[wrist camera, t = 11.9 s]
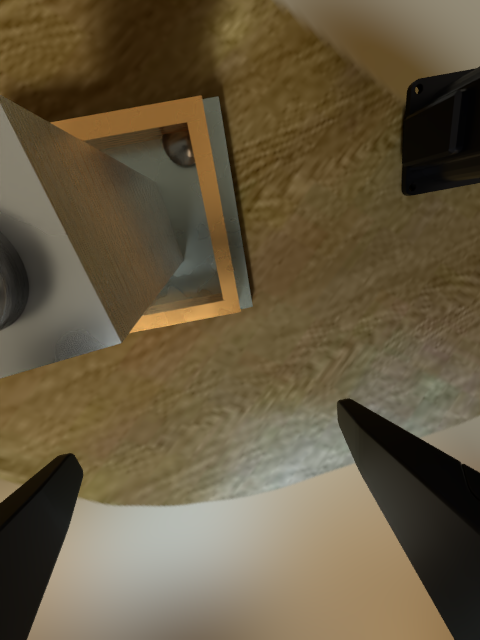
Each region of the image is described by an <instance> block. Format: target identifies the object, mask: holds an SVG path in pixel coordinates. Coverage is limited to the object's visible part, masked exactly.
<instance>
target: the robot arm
mask: <svg viewBox="0 0 480 640" xmlns="http://www.w3.org/2000/svg"><path fill="white" fill-rule="evenodd" d="M415 87H417V88H418V90H419V91H418V94H416V92H415ZM402 164H403V174H402V193H403V194H404V195H405V196H410V195H416V194H422V193H427V192H433V191H438V190H443V189H449V188H454V187H460V186H465V185H470V184H476V183H480V67H478V68H476V69H471V70H466V71H460V72H454V73H449V74H443V75H437V76H432V77H427V78H421V79H418V80H416V81H415V82H413V83H412V84H411V85H410V86H409V88H408V90H407V98H406V117H405V121H404V134H403V154H402ZM410 185H412V190H411V191H410V190H409V186H410ZM337 414H338V423H339V426H340V429H341V431H342V433H343V435H344V438H345V440H346V442H347V445H348V447H349V449H350V451H351V454H352V456H353V458H354V461H355V463H356V465H357V467H358V469H359V471H360V473H361V475H362V477H363V479H364V480H365V482H366V484H367V486H368V488H369V489H370V491H371V493H372V495H373V497H374V498H375V500H376V502H377V504H378V505H379V507H380V509H381V511H382V512H383V514H384V516H385V518H386V520H387V521H388V523H389V525H390V526H391V528H392V530H393V532H394V534H395V535H396V537H397V539H398V541H399V543H400V544H401V546H402V548H403V550H404V551H405V553H406V555H407V557H408V558H409V560H410V562H411V564H412V566H413V567H414V569H415V571H416V573H417V574H418V576H419V578H420V580H421V581H422V583H423V585H424V586H425V588H426V590H427V592H428V594H429V596H430V597H431V599H432V601H433V603H434V604H435V606H436V608H437V609H438V611H439V613H440V615H441V617H442V618H443V620H444V622H445V624H446V626H447V627H448V629H449V631H450V632H451V634H452V636H453V637H454V640H480V473H479V472H478V471H476V470H474V469H472V468H470V467H469V466H467V465H465V464H461V462H460V461H458V460H456V459H455V458H453V457H451V456H449V455H448V454H446V453H444V452H442V451H441V450H439V449H437V448H435V447H434V446H432V445H430V444H429V443H426V442H425V441H423V440H422V439H420V438H418V437H416V436H415V435H413V434H411V433H409V432H408V431H406V430H404V429H402V428H401V427H399V426H397V425H395V424H394V423H392V422H390V421H388V420H387V419H385V418H383V417H381V416H380V415H378V414H376V413H374V412H373V411H371V410H369V409H368V408H366V407H364V406H362V405H361V404H359V403H357V402H355V401H354V400H352V399H343V400H339V401H338V402H337ZM82 479H83V470H82V468H81V466H80V464H79V462H78V460H77V459H76V457H75V455H74V454H72V453H68V454H63V455H59V456H57V457H56V458H55V459H54V460H52V461H51V462H50V463H49V464H48V465H46V466H45V467H44V468H43V469H41V470H40V471H39V472H38V473H37V474H35V475H34V476H33V477H32V478H30V479H29V480H28V481H27V482H26V483H24V484H23V485H22V486H21V487H20V488H18V489H17V490H16V491H15V492H14V493H12V494H11V495H10V496H9V497H7V498H6V499H5V500H4V501H3V502H1V503H0V640H27V638H28V635H29V632H30V630H31V627H32V624H33V622H34V619H35V616H36V614H37V611H38V608H39V606H40V603H41V600H42V598H43V595H44V592H45V590H46V587H47V585H48V582H49V579H50V577H51V574H52V571H53V568H54V566H55V563H56V561H57V558H58V555H59V553H60V550H61V547H62V545H63V542H64V539H65V536H66V534H67V531H68V528H69V524H70V521H71V518H72V514H73V511H74V507H75V504H76V500H77V497H78V493H79V490H80V486H81V482H82Z"/></svg>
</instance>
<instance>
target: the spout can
mask: <svg viewBox="0 0 480 640" xmlns="http://www.w3.org/2000/svg"><path fill="white" fill-rule="evenodd" d="M183 261H184V258H183V256H182V253H181V250H180V247H179V244H178V242H177V239H176V236H175V233H174V230H173V228H172V225H171V222H170V219H169V216H168V214H167V211H166V208H165V205H164V202H163V199H162V197H161V194H160V191H159V188H158V185H157V183H156V182H155V181H153V180H151V179H149V178H148V177H146V176H144V175H142V174H140V173H139V172H137V171H135V170H133V169H132V168H130V167H128V166H126V165H124V164H123V163H121V162H119V161H117V160H115V159H114V158H112V157H110V156H108V155H107V154H105V153H103V152H101V151H99V150H98V149H96V148H94V147H92V146H91V145H89V144H87V143H85V142H83V141H82V140H80V139H78V138H76V137H74V136H73V135H71V134H69V133H67V132H66V131H64V130H62V129H60V128H58V127H57V126H55V125H53V124H51V123H50V122H48V121H46V120H44V119H42V118H41V117H39V116H37V115H35V114H33V113H32V112H30V111H28V110H26V109H25V108H23V107H21V106H19V105H17V104H16V103H14V102H12V101H10V100H8V99H7V98H5V97H3V96H1V95H0V378H3V377H6V376H10V375H13V374H17V373H20V372H24V371H27V370H30V369H34V368H37V367H41V366H44V365H48V364H51V363H54V362H58V361H61V360H65V359H68V358H72V357H75V356H78V355H82V354H85V353H89V352H92V351H96V350H99V349H103V348H106V347H109V346H113V345H116V344H120V343H122V342H123V340H124V339H125V338H126V336H127V335H128V334H129V332H130V331H131V330H132V328H133V327H134V326H135V324H136V323H137V322H138V321H139V319H140V318H141V317H142V315H143V314H144V313H145V311H146V310H147V309H148V307H149V306H150V305H151V303H152V302H153V301H154V299H155V298H156V297H157V295H158V294H159V293H160V291H161V290H162V289H163V287H164V286H165V285H166V283H167V282H168V281H169V279H170V278H171V277H172V276H173V274H174V273H175V272H176V270H177V269H178V268H179V266H180V265H181V264H182V262H183Z"/></svg>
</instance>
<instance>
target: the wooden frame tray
mask: <svg viewBox="0 0 480 640" xmlns="http://www.w3.org/2000/svg"><path fill="white" fill-rule="evenodd" d="M50 123H51V124H53V125H55V126H57V127H58V128H60V129H62V130H64V131H66V132H67V133H69V134H71V135H73V136H74V137H76V138H78V139H80V140H82V141H83V142H85V143H87V144H89V145H91V146H92V147H94V148H96V149H98V150H99V151H101V152H103V153H105V154H107V155H108V156H110V157H112V158H114V159H115V160H117V161H119V162H121V163H123V164H124V165H126V166H128V167H130V168H132V169H133V170H135V171H137V172H139V173H140V174H142V175H144V176H146V177H148V178H149V179H151V180H153V181H155V182H156V183H157V185H158V188H159V191H160V194H161V197H162V199H163V202H164V205H165V208H166V211H167V214H168V216H169V219H170V222H171V225H172V228H173V230H174V233H175V236H176V239H177V242H178V244H179V247H180V250H181V253H182V256H183V258H184V261H183V262H182V264H181V265H180V266H179V268H178V269H177V270H176V272H175V273H174V274H173V276H172V277H171V278H170V279H169V281H168V282H167V283H166V285H165V286H164V287H163V289H162V290H161V291H160V293H159V294H158V295H157V297H156V298H155V299H154V301H153V302H152V303H151V305H150V306H149V307H148V309H147V310H146V311H145V313H144V314H143V315H142V317H141V318H140V319H139V321H138V322H137V323H136V324H135V326H134V327H133V328H132V330H131V331H130V332H129V333H131V332H137V331H142V330H147V329H153V328H158V327H163V326H168V325H174V324H179V323H184V322H190V321H195V320H200V319H205V318H211V317H216V316H221V315H227V314H232V313H237V312H241V310H240V309H243V308H248V307H253V306H252V299H251V293H250V287H249V281H248V275H247V269H246V262H245V256H244V250H243V244H242V238H241V232H240V225H239V219H238V213H237V207H236V201H235V195H234V188H233V182H232V176H231V170H230V164H229V158H228V151H227V145H226V139H225V133H224V127H223V120H222V114H221V108H220V102H219V96H218V97H212V98H207V99H202V95H201V96H195V97H189V98H184V99H178V100H173V101H167V102H162V103H156V104H150V105H145V106H139V107H134V108H128V109H122V110H117V111H111V112H106V113H100V114H95V115H89V116H83V117H78V118H72V119H67V120H61V121H55V122H50Z"/></svg>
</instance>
